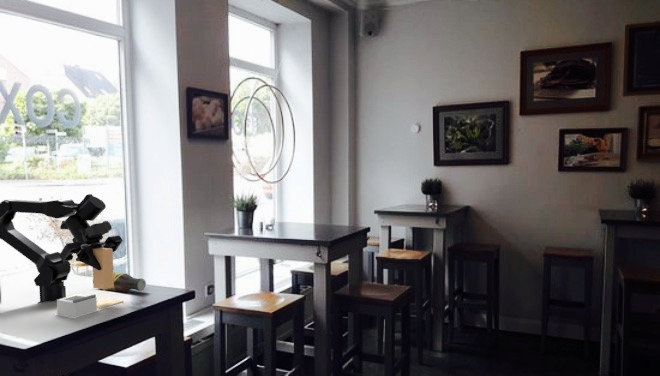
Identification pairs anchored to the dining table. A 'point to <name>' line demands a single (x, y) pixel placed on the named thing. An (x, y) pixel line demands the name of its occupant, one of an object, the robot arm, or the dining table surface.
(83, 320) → the dining table surface
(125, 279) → the sauce bottle
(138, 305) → the dining table surface
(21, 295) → the dining table surface
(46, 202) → the robot arm
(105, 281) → the tan rectangular block
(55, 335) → the dining table surface
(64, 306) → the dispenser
